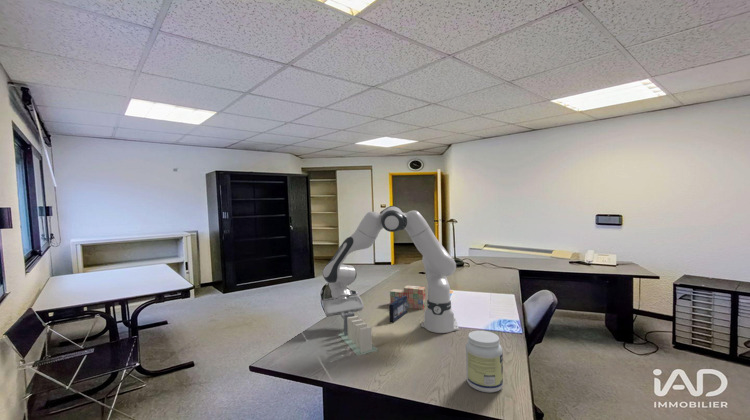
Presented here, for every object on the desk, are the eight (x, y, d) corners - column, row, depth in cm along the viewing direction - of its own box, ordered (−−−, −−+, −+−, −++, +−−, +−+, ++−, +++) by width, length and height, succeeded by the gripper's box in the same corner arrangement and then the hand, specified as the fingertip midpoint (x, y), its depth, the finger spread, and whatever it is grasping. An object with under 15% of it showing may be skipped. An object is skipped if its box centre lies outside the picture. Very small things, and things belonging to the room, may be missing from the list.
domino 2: (347, 338, 151) (347, 317, 151) (357, 336, 153) (356, 315, 153) (348, 339, 149) (348, 318, 149) (358, 337, 152) (358, 316, 151)
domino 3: (351, 342, 146) (351, 320, 146) (361, 340, 148) (361, 319, 148) (352, 343, 145) (352, 322, 145) (362, 341, 147) (362, 320, 147)
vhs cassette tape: (393, 323, 170) (392, 305, 170) (388, 322, 171) (388, 304, 171) (408, 313, 185) (407, 296, 185) (403, 312, 187) (403, 295, 187)
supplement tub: (509, 393, 105) (508, 343, 105) (472, 394, 105) (471, 344, 105) (495, 374, 117) (494, 328, 117) (462, 374, 117) (461, 329, 117)
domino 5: (359, 351, 137) (359, 328, 137) (370, 348, 139) (369, 326, 139) (361, 352, 136) (360, 329, 136) (371, 350, 138) (371, 327, 138)
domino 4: (355, 346, 142) (355, 324, 142) (365, 344, 144) (365, 322, 144) (357, 348, 140) (356, 325, 140) (367, 345, 142) (366, 323, 142)
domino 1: (344, 334, 155) (343, 314, 155) (353, 332, 157) (353, 312, 157) (345, 335, 154) (344, 315, 154) (354, 333, 156) (354, 313, 156)
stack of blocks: (390, 305, 199) (389, 286, 199) (393, 303, 205) (393, 284, 205) (423, 309, 191) (422, 289, 190) (425, 306, 196) (425, 286, 196)
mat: (338, 335, 156) (338, 334, 156) (356, 331, 160) (356, 330, 160) (357, 356, 133) (357, 355, 133) (378, 351, 138) (378, 350, 138)
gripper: (322, 296, 160) (329, 321, 151) (360, 290, 169) (368, 314, 160) (320, 302, 164) (326, 327, 155) (357, 296, 173) (364, 320, 164)
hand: (347, 320), depth 158 cm, fingers closed
